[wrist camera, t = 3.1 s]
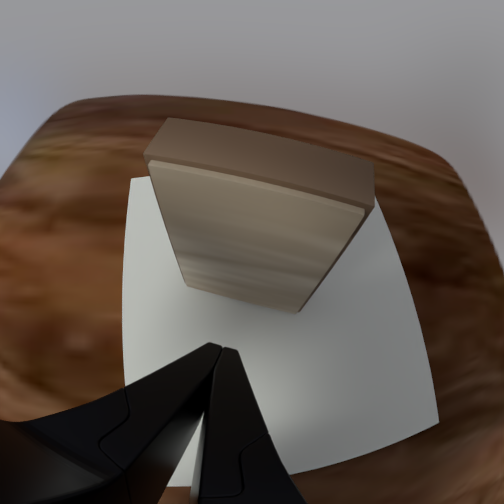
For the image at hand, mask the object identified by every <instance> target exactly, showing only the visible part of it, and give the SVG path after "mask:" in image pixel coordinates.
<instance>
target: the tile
mask: <svg viewBox="0 0 504 504" xmlns="http://www.w3.org/2000/svg"><path fill="white" fill-rule="evenodd" d="M143 155H144V158H145V162H146V166H147V169H148V173H149V176H150V179H151V183H152V186H153V190H154V193H155V196H156V199H157V203H158V206H159V209H160V212H161V215H162V218H163V221H164V225H165V228H166V231H167V234H168V237H169V240H170V243H171V245H172V248H173V251H174V254H175V257H176V260H177V263H178V266H179V268H180V271H181V274H182V277H183V279H184V282H185V283H186V285H187V286H188V287H191V288H195V289H199V290H202V291H206V292H209V293H213V294H217V295H221V296H224V297H228V298H232V299H236V300H240V301H243V302H247V303H251V304H255V305H259V306H263V307H267V308H271V309H276V310H280V311H284V312H288V313H292V314H296V313H297V312H300V311H301V310H302V308H303V307H304V306H305V304H306V303H307V302H308V300H309V299H310V298H311V297H312V295H313V294H314V293H315V291H316V290H317V289H318V287H319V286H320V285H321V283H322V282H323V280H324V279H325V278H326V276H327V275H328V274H329V272H330V271H331V270H332V268H333V267H334V265H335V264H336V263H337V261H338V260H339V258H340V257H341V256H342V254H343V253H344V251H345V250H346V248H347V247H348V246H349V244H350V243H351V241H352V240H353V238H354V237H355V235H356V234H357V233H358V231H359V230H360V228H361V227H362V225H363V224H364V222H365V221H366V219H367V218H368V216H369V215H370V213H371V212H372V210H373V209H374V207H375V186H374V163H373V162H370V161H367V160H363V159H360V158H357V157H354V156H351V155H347V154H344V153H340V152H337V151H334V150H330V149H326V148H323V147H319V146H315V145H312V144H308V143H304V142H300V141H296V140H292V139H288V138H283V137H279V136H274V135H270V134H265V133H261V132H256V131H251V130H246V129H240V128H235V127H229V126H224V125H218V124H211V123H205V122H198V121H191V120H184V119H176V118H167V120H166V121H165V123H164V124H163V125H162V127H161V128H160V130H159V131H158V132H157V134H156V135H155V137H154V138H153V140H152V141H151V143H150V144H149V146H148V147H147V149H146V150H145V152H144V153H143Z"/></svg>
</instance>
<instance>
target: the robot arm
mask: <svg viewBox="0 0 504 504" xmlns="http://www.w3.org/2000/svg"><path fill="white" fill-rule="evenodd" d="M203 413H204V414H203ZM202 416H203V419H202ZM201 419H202V424H201V430H200V436H199V442H198V448H197V454H196V460H195V466H194V472H193V479H192V485H191V492H190V498H189V504H308V503H307V502H306V500H305V499H304V497H303V496H302V494H301V493H300V491H299V490H298V488H297V487H296V485H295V483H294V482H293V480H292V479H291V477H290V475H289V473H288V472H287V470H286V468H285V466H284V465H283V463H282V461H281V459H280V457H279V455H278V452H277V450H276V448H275V446H274V443H273V441H272V438H271V436H270V434H268V433H269V431H268V429H267V426H266V424H265V421H264V419H263V416H262V413H261V411H260V408H259V406H258V403H257V400H256V398H255V395H254V392H253V390H252V387H251V384H250V382H249V379H248V376H247V374H246V371H245V368H244V365H243V363H242V360H241V357H240V354H239V352H238V350H236V349H233V348H229V347H222V346H221V345H218V344H215V343H212V342H208V343H206V344H204V345H202V346H200V347H199V348H197V349H195V350H193V351H191V352H190V353H188V354H186V355H184V356H182V357H180V358H179V359H177V360H175V361H173V362H171V363H169V364H167V365H166V366H164V367H162V368H160V369H158V370H156V371H154V372H152V373H150V374H148V375H146V376H145V377H143V378H141V379H139V380H137V381H135V382H133V383H131V384H129V385H127V386H125V387H124V388H121V389H119V390H117V391H115V392H113V393H110V394H108V395H106V396H104V397H101V398H99V399H97V400H95V401H92V402H89V403H86V404H83V405H81V406H78V407H75V408H72V409H68V410H65V411H62V412H59V413H55V414H52V415H48V416H45V417H41V418H38V419H34V420H29V421H23V422H10V421H3V420H0V504H157V503H158V502H159V500H160V498H161V496H162V494H163V492H164V490H165V489H166V487H167V485H168V483H169V481H170V479H171V477H172V475H173V473H174V472H175V470H176V468H177V466H178V464H179V462H180V460H181V458H182V456H183V454H184V452H185V450H186V448H187V447H188V445H189V443H190V441H191V439H192V437H193V435H194V433H195V431H196V429H197V427H198V425H199V423H200V421H201Z"/></svg>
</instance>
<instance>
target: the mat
mask: <svg viewBox="0 0 504 504" xmlns="http://www.w3.org/2000/svg"><path fill="white" fill-rule="evenodd" d="M122 329H123V358H124V374H125V386H127V385H129V384H131V383H133V382H135V381H137V380H139V379H141V378H143V377H145V376H146V375H148V374H150V373H152V372H154V371H156V370H158V369H160V368H162V367H164V366H166V365H167V364H169V363H171V362H173V361H175V360H177V359H179V358H180V357H182V356H184V355H186V354H188V353H190V352H191V351H193V350H195V349H197V348H199V347H200V346H202V345H204V344H206V343H208V342H212V343H215V344H218V345H221V346H222V347H229V348H233V349H236V350H238V352H239V354H240V357H241V360H242V363H243V365H244V368H245V371H246V374H247V376H248V379H249V382H250V384H251V387H252V390H253V392H254V395H255V398H256V400H257V403H258V406H259V408H260V411H261V413H262V416H263V419H264V421H265V424H266V426H267V429H268V431H269V433H268V434H270V436H271V438H272V441H273V443H274V446H275V448H276V450H277V452H278V455H279V457H280V459H281V461H282V463H283V465H284V466H285V468H286V470H287V472H288V473H289V475H291V474H296V473H300V472H305V471H309V470H313V469H317V468H321V467H325V466H328V465H332V464H336V463H339V462H342V461H346V460H349V459H352V458H355V457H358V456H361V455H364V454H367V453H370V452H373V451H375V450H378V449H381V448H383V447H386V446H388V445H391V444H393V443H396V442H398V441H401V440H403V439H405V438H408V437H410V436H412V435H414V434H417V433H419V432H421V431H423V430H425V429H427V428H429V427H431V426H433V425H435V424H437V423H439V418H438V411H437V404H436V398H435V392H434V386H433V381H432V376H431V371H430V366H429V361H428V357H427V352H426V348H425V344H424V339H423V335H422V331H421V327H420V324H419V320H418V316H417V313H416V309H415V306H414V302H413V299H412V295H411V292H410V289H409V286H408V283H407V279H406V276H405V273H404V270H403V267H402V264H401V262H400V259H399V256H398V253H397V250H396V247H395V245H394V242H393V239H392V237H391V234H390V231H389V229H388V226H387V224H386V221H385V219H384V216H383V214H382V211H381V209H380V207H379V204H378V202H377V200H376V197H375V207H374V209H373V210H372V212H371V213H370V215H369V216H368V218H367V219H366V221H365V222H364V224H363V225H362V227H361V228H360V230H359V231H358V233H357V234H356V235H355V237H354V238H353V240H352V241H351V243H350V244H349V246H348V247H347V248H346V250H345V251H344V253H343V254H342V256H341V257H340V258H339V260H338V261H337V263H336V264H335V265H334V267H333V268H332V270H331V271H330V272H329V274H328V275H327V276H326V278H325V279H324V280H323V282H322V283H321V285H320V286H319V287H318V289H317V290H316V291H315V293H314V294H313V295H312V297H311V298H310V299H309V300H308V302H307V303H306V304H305V306H304V307H303V308H302V310H301V311H300V312H297V313H296V314H292V313H288V312H284V311H280V310H276V309H271V308H267V307H263V306H259V305H255V304H251V303H247V302H243V301H240V300H236V299H232V298H228V297H224V296H221V295H217V294H213V293H209V292H206V291H202V290H199V289H195V288H191V287H188V286H187V285H186V283H185V282H184V279H183V277H182V274H181V271H180V268H179V266H178V263H177V260H176V257H175V254H174V251H173V248H172V245H171V243H170V240H169V237H168V234H167V231H166V228H165V225H164V221H163V218H162V215H161V212H160V209H159V206H158V203H157V199H156V196H155V193H154V190H153V186H152V183H151V179H150V176H147V177H140V178H133V179H131V185H130V193H129V202H128V211H127V221H126V232H125V246H124V263H123V292H122ZM203 414H204V413H203ZM202 419H203V416H202ZM202 419H201V421H200V423H199V425H198V427H197V429H196V431H195V433H194V435H193V437H192V439H191V441H190V443H189V445H188V447H187V448H186V450H185V452H184V454H183V456H182V458H181V460H180V462H179V464H178V466H177V468H176V470H175V472H174V473H173V475H172V477H171V479H170V481H169V483H168V485H167V486H191V485H192V479H193V472H194V466H195V460H196V454H197V448H198V442H199V436H200V430H201V424H202Z"/></svg>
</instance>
